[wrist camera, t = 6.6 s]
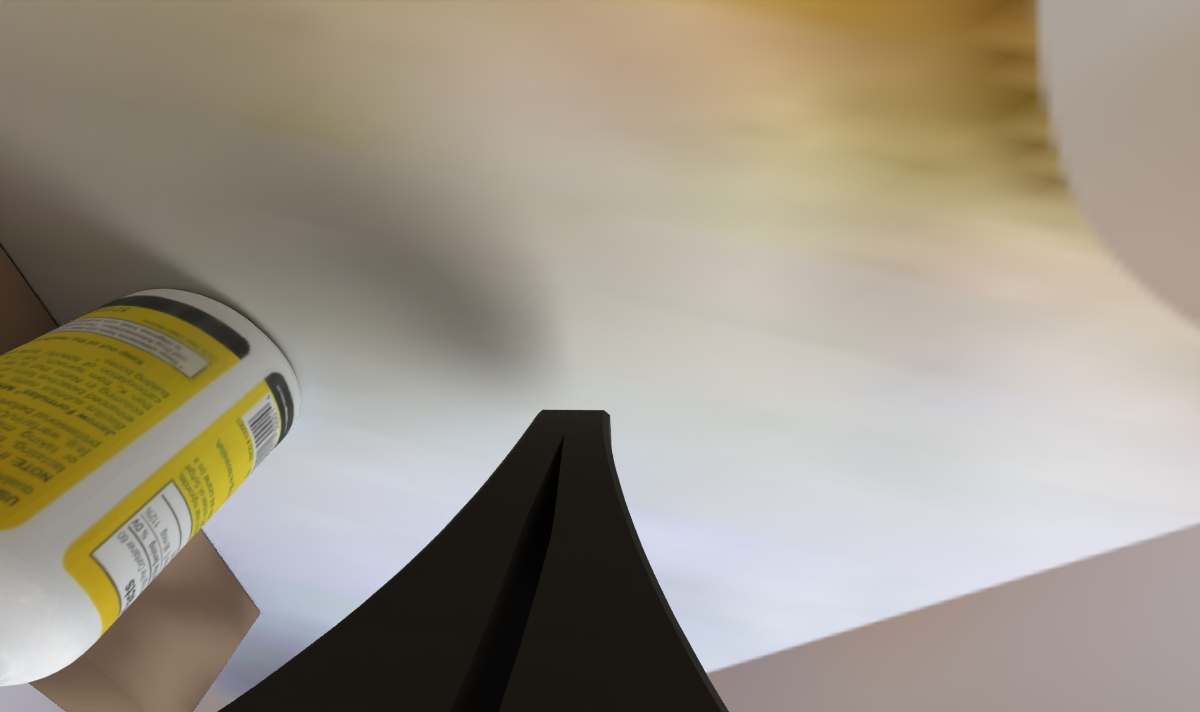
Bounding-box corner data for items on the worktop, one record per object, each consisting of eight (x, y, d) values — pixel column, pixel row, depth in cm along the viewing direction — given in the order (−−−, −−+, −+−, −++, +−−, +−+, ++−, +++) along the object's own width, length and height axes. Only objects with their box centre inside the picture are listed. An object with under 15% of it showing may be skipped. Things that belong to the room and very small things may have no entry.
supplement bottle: (73, 314, 12) (-743, 690, 5) (218, 257, 11) (-579, 642, 4) (212, 454, 14) (-216, 852, 7) (343, 420, 13) (-12, 852, 6)
